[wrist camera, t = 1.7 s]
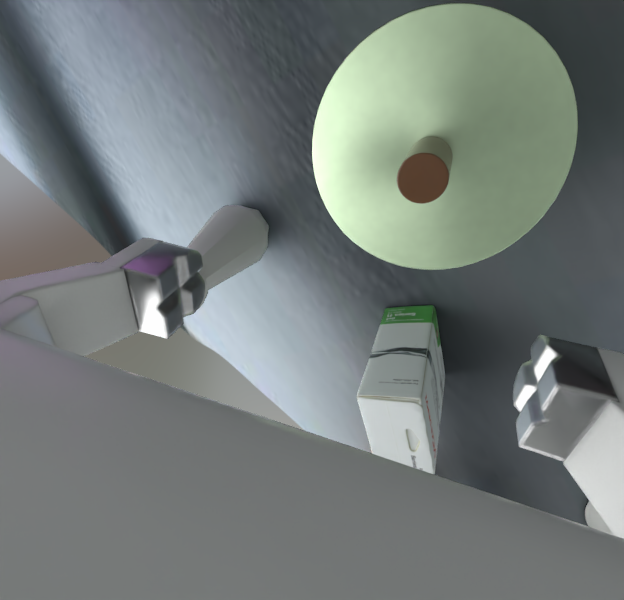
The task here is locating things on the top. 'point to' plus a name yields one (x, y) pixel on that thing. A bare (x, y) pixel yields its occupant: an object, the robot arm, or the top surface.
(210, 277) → the salt shaker
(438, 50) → the lid
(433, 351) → the ink box
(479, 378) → the top surface
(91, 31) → the top surface
